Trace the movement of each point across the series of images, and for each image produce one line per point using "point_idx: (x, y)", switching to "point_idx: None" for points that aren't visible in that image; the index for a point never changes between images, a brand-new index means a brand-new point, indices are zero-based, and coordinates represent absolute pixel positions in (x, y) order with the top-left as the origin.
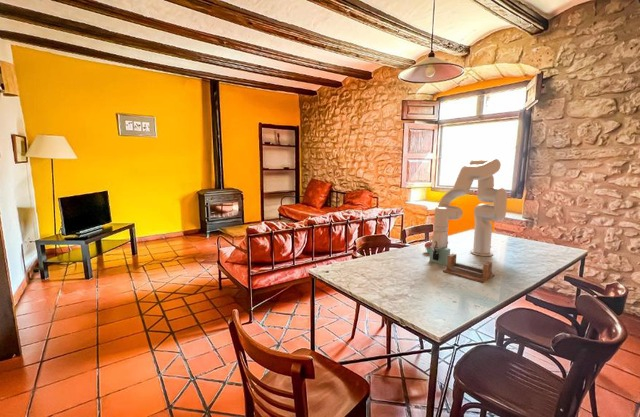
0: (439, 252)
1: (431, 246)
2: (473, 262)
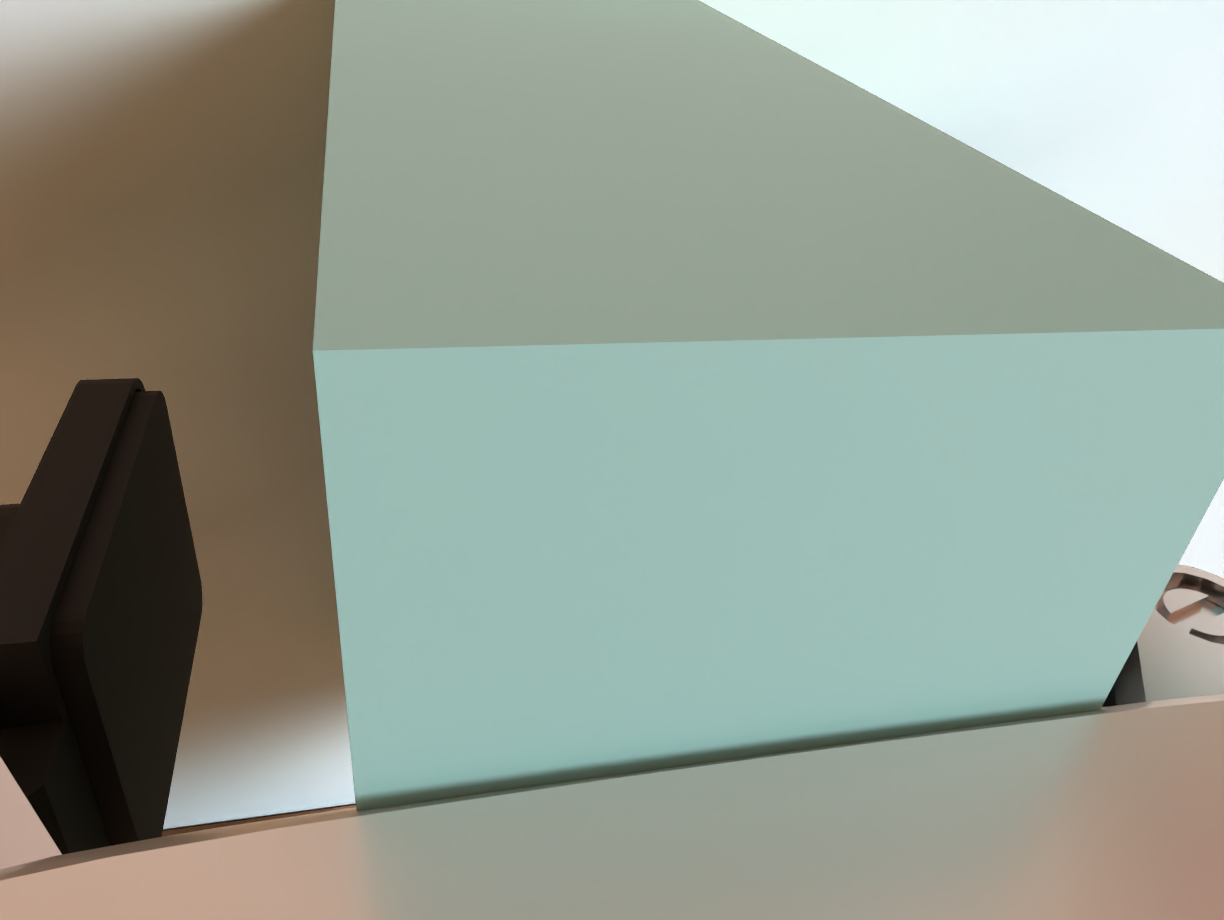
0: None
1: (428, 500)
2: None
